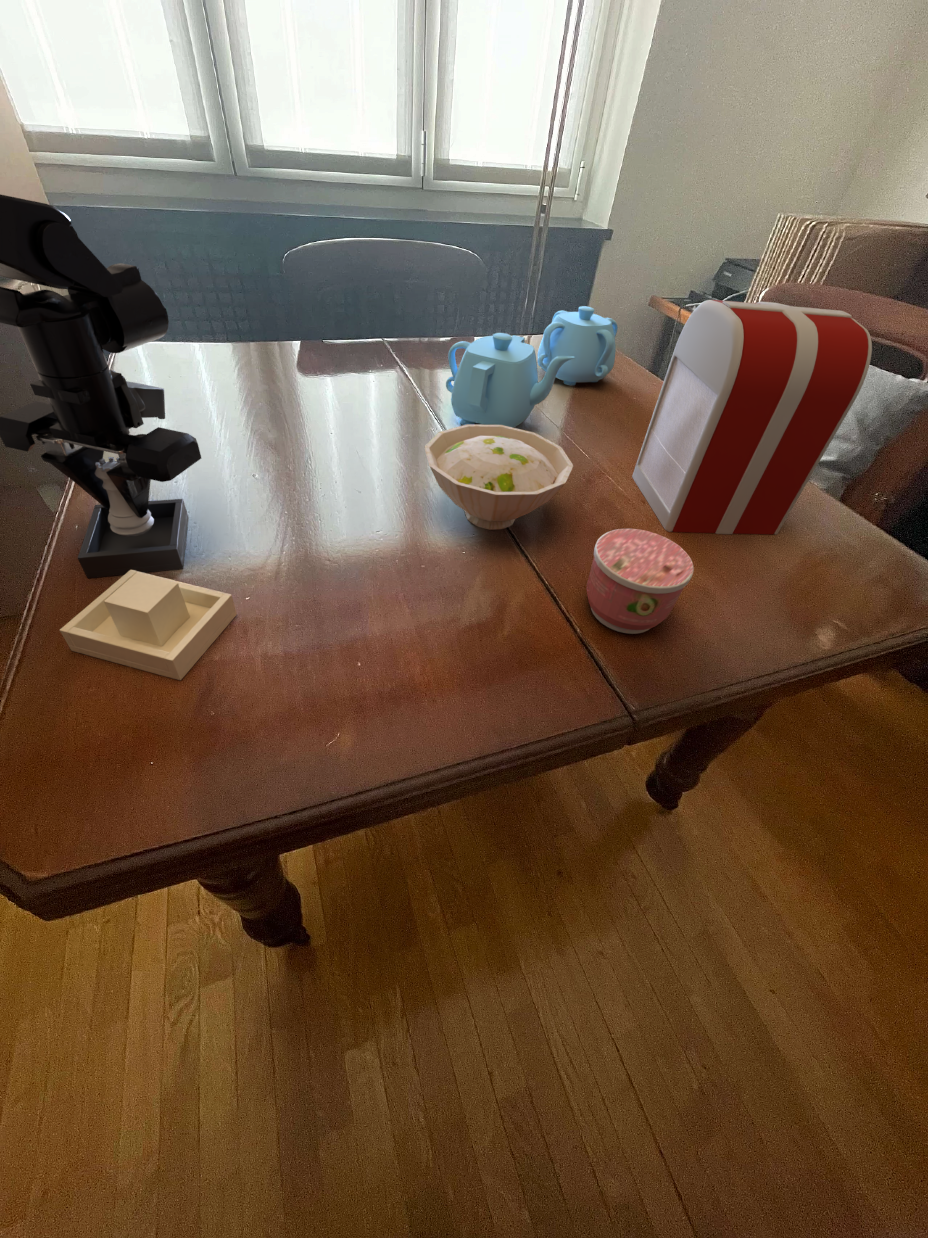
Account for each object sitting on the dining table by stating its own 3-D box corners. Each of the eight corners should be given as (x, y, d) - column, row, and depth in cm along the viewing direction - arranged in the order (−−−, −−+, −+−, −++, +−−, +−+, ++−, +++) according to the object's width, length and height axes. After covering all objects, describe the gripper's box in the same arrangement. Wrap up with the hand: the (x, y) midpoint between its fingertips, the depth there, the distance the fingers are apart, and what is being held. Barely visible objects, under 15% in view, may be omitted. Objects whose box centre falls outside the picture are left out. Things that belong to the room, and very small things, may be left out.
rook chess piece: (119, 515, 64) (94, 451, 58) (160, 516, 64) (138, 453, 59) (105, 538, 60) (77, 472, 55) (148, 538, 61) (125, 473, 56)
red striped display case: (630, 474, 89) (692, 284, 70) (730, 478, 91) (816, 295, 72) (666, 532, 77) (752, 322, 58) (781, 535, 79) (899, 334, 61)
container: (560, 608, 63) (576, 552, 57) (607, 571, 69) (625, 517, 64) (641, 657, 58) (667, 601, 53) (683, 612, 64) (710, 558, 59)
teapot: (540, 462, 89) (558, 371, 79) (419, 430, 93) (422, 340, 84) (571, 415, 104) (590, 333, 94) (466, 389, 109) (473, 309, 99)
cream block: (120, 635, 53) (103, 601, 50) (150, 606, 56) (136, 572, 53) (161, 646, 52) (147, 612, 49) (190, 616, 56) (178, 582, 52)
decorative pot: (546, 358, 127) (558, 292, 118) (614, 372, 124) (631, 306, 115) (526, 379, 116) (537, 308, 107) (600, 396, 113) (618, 324, 103)
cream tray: (71, 650, 52) (58, 629, 50) (139, 589, 59) (130, 569, 57) (180, 680, 51) (172, 660, 49) (237, 614, 57) (231, 594, 56)
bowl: (456, 570, 66) (464, 498, 59) (400, 490, 78) (401, 423, 72) (586, 541, 73) (606, 474, 67) (516, 472, 86) (527, 409, 79)
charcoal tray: (183, 569, 62) (176, 549, 60) (87, 578, 59) (77, 558, 57) (188, 517, 69) (183, 498, 67) (103, 524, 67) (94, 504, 65)
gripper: (214, 358, 55) (243, 495, 66) (53, 327, 57) (106, 464, 68) (140, 397, 47) (186, 545, 58) (-44, 359, 49) (33, 508, 60)
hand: (128, 512), depth 61 cm, fingers closed on rook chess piece, 3 cm apart
